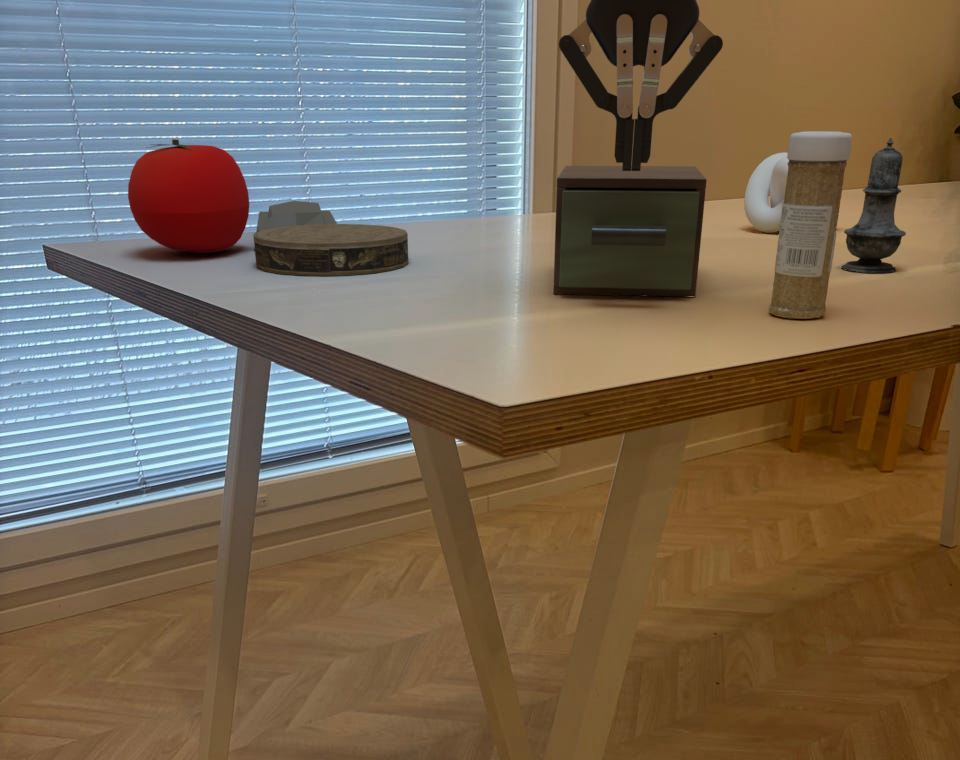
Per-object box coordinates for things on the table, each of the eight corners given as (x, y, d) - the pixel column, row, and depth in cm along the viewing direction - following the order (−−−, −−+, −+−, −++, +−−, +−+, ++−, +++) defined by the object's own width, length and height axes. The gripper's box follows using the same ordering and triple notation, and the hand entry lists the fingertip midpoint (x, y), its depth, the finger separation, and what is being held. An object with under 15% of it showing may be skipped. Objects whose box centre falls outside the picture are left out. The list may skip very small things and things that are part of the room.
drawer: (693, 300, 85) (703, 198, 81) (556, 297, 86) (559, 196, 82) (682, 265, 101) (690, 179, 97) (566, 263, 102) (569, 178, 98)
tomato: (280, 251, 115) (270, 138, 110) (173, 266, 107) (156, 143, 101) (218, 241, 123) (205, 135, 117) (112, 254, 114) (94, 139, 109)
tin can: (247, 256, 112) (244, 227, 111) (388, 249, 117) (387, 221, 115) (267, 279, 99) (263, 246, 98) (425, 271, 103) (425, 239, 102)
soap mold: (254, 250, 116) (250, 217, 114) (256, 228, 133) (253, 199, 132) (345, 248, 118) (343, 215, 116) (336, 227, 135) (334, 198, 133)
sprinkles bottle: (834, 314, 84) (863, 131, 78) (810, 322, 81) (838, 133, 75) (782, 307, 87) (806, 130, 80) (757, 315, 84) (779, 132, 77)
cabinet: (695, 297, 91) (706, 179, 86) (553, 294, 92) (556, 177, 88) (686, 271, 104) (696, 166, 99) (561, 268, 105) (565, 165, 100)
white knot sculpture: (730, 234, 128) (738, 155, 124) (751, 224, 138) (760, 150, 133) (823, 239, 124) (835, 157, 120) (838, 228, 133) (850, 152, 129)
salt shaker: (872, 275, 101) (896, 140, 95) (825, 267, 105) (845, 137, 100) (911, 270, 104) (936, 138, 98) (864, 262, 108) (885, 136, 102)
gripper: (555, -98, 72) (546, 172, 80) (747, -101, 71) (718, 175, 79) (560, -83, 78) (552, 166, 87) (736, -85, 77) (711, 168, 85)
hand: (631, 170), depth 83 cm, fingers closed
